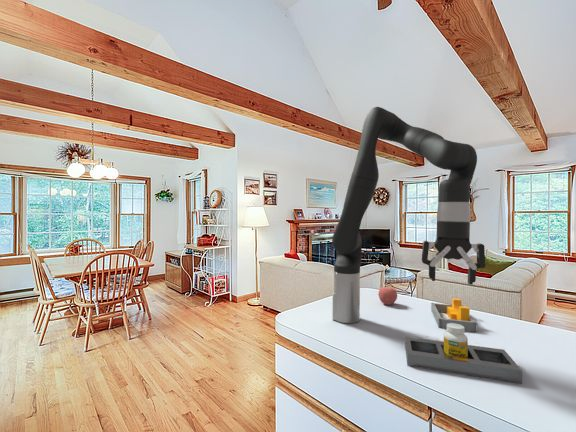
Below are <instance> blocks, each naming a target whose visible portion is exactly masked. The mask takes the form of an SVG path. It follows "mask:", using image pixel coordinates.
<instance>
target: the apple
mask: <svg viewBox="0 0 576 432" xmlns="http://www.w3.org/2000/svg"><path fill="white" fill-rule="evenodd" d="M378 298H379V301H380V302H381V303H382V304H384V305H386V306H391V305H393V304H395V302H396V301H397V299H398V293H397V291H396V289H395V288H393V287H390V286H388V285H386V286H382V287H381V288H380V289H378Z"/></svg>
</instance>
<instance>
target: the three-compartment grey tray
mask: <svg viewBox="0 0 576 432" xmlns="http://www.w3.org/2000/svg"><path fill="white" fill-rule="evenodd" d="M404 350H405V356H406V364H407V367H408V366H409V367H415V368H420V369H426V370H433V371H439V372H445V373H450V374H452V373H453V374H458V375H465V376H471V377H477V378H482V379H489V380H495V381H499V382H500V381H501V382H506V383H507V382H508V383H512V384H520V385H522V384H523V370H522V369H521V368H520V366H519V365H518V364H517V363H516V361H514V359H513V358H512V357H511V356H510V355H509V354H508V352H507V351H506V350H505V349H502V348H497V347H495V348H494V347H486V346H478V345H472V344H468V358H461V357H454V356H447V355H445V354H444V340H443V341H442V340H435V339H426V338H425V339H424V338H418V337H410V336H405V338H404Z"/></svg>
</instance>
